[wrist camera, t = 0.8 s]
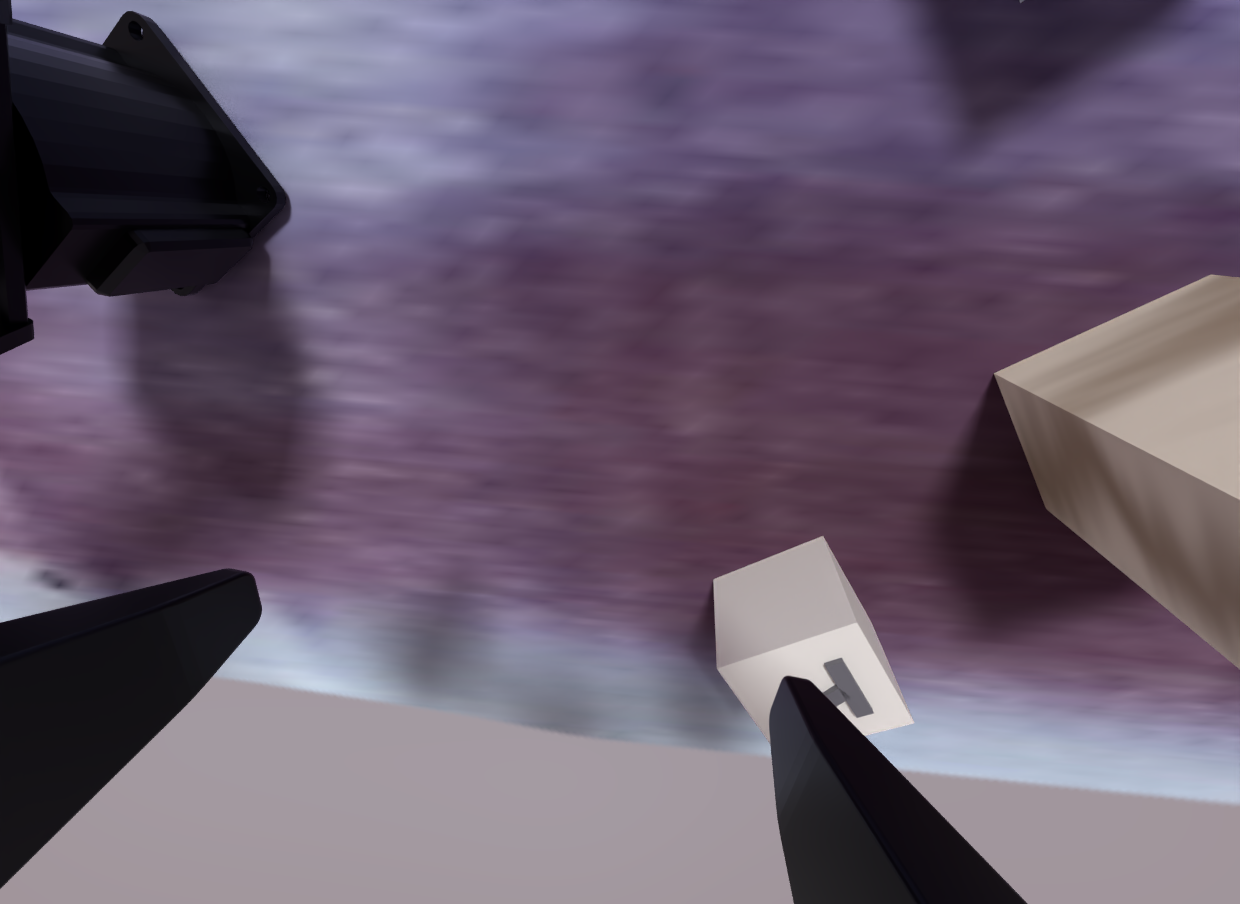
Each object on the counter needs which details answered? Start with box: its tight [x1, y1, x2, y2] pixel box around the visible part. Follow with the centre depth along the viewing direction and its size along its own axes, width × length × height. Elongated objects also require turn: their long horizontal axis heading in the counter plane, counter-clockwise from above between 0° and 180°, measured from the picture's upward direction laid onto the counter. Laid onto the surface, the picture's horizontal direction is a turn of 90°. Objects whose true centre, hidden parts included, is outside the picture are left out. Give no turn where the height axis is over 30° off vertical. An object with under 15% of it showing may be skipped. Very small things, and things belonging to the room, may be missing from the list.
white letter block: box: [713, 536, 914, 744], centre depth 20 cm, size 5×5×5 cm
